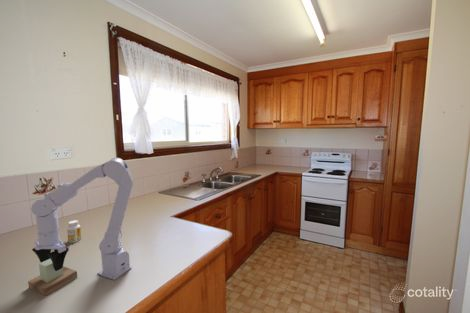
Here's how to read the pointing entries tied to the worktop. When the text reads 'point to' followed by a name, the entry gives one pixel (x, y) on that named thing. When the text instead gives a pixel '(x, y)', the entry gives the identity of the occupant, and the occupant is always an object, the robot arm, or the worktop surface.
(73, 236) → the supplement bottle
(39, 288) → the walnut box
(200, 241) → the worktop surface
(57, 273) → the sage-green block
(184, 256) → the worktop surface
